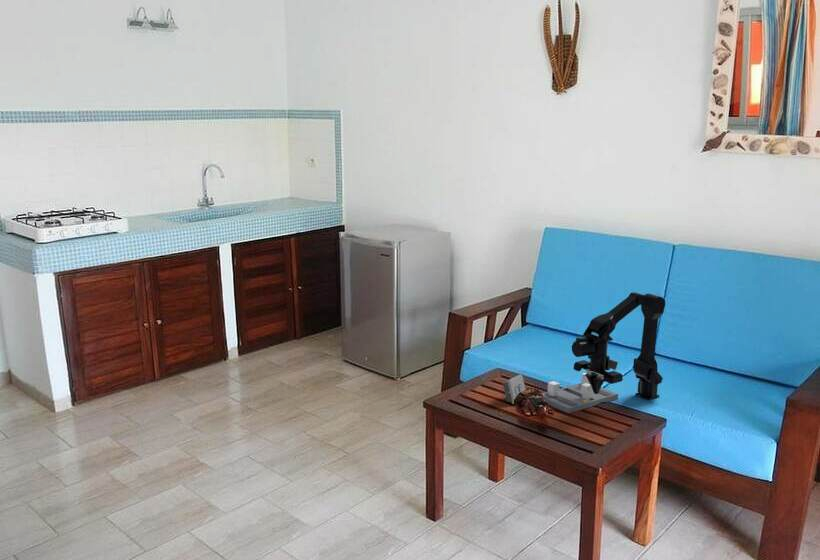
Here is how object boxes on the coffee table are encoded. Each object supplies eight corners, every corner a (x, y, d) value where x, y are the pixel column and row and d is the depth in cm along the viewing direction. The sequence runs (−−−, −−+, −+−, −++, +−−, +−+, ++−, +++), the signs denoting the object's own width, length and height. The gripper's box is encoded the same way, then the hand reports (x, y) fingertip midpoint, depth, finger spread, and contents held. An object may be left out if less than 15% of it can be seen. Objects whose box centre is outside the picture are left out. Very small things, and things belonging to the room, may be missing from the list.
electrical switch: (514, 405, 263) (513, 381, 261) (502, 403, 266) (501, 379, 265) (527, 398, 270) (526, 374, 268) (515, 396, 273) (514, 373, 272)
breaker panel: (617, 398, 270) (619, 381, 268) (568, 413, 256) (569, 395, 254) (586, 386, 283) (587, 369, 281) (537, 399, 269) (538, 381, 267)
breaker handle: (591, 401, 265) (592, 385, 264) (586, 403, 264) (587, 386, 262) (585, 399, 268) (586, 382, 267) (580, 400, 266) (581, 384, 265)
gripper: (634, 356, 255) (631, 397, 258) (594, 343, 270) (592, 382, 273) (613, 361, 249) (610, 403, 252) (573, 347, 264) (571, 387, 267)
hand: (596, 393), depth 261 cm, fingers closed
